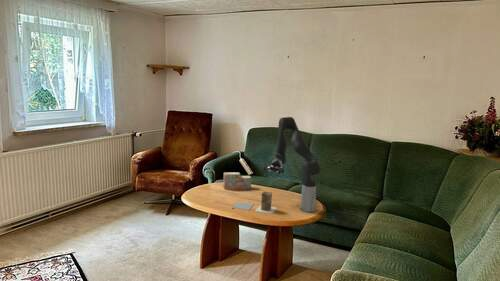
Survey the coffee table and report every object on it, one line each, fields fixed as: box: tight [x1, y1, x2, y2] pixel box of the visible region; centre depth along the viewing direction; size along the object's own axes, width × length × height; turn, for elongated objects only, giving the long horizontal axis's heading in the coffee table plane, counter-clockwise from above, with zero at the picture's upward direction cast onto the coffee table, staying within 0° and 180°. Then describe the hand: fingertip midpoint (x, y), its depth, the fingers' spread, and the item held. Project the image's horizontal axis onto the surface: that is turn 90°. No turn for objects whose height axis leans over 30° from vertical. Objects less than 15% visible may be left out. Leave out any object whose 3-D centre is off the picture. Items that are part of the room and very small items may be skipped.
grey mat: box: [231, 201, 255, 211], centre depth 250 cm, size 12×12×1 cm
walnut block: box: [260, 191, 273, 211], centre depth 245 cm, size 6×6×11 cm
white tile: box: [255, 204, 278, 214], centre depth 245 cm, size 12×12×1 cm
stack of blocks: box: [222, 171, 252, 190], centre depth 293 cm, size 21×6×12 cm, turn 101°
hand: (272, 172), depth 255 cm, fingers open, 8 cm apart
